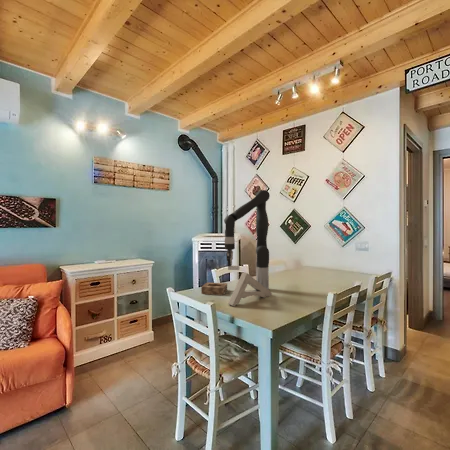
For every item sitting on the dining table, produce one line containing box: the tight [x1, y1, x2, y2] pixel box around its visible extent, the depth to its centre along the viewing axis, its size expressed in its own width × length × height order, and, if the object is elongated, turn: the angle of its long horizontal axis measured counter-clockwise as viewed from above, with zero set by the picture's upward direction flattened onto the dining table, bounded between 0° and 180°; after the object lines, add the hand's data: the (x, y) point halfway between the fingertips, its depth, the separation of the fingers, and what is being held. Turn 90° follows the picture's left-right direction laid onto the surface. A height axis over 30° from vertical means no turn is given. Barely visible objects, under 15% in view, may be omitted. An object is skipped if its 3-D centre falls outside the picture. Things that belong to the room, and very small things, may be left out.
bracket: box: [227, 256, 241, 271], centre depth 204 cm, size 8×4×10 cm, turn 78°
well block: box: [200, 281, 228, 296], centre depth 202 cm, size 16×14×5 cm
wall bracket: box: [227, 271, 273, 308], centre depth 181 cm, size 22×4×30 cm
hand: (229, 265), depth 205 cm, fingers closed on bracket, 4 cm apart
